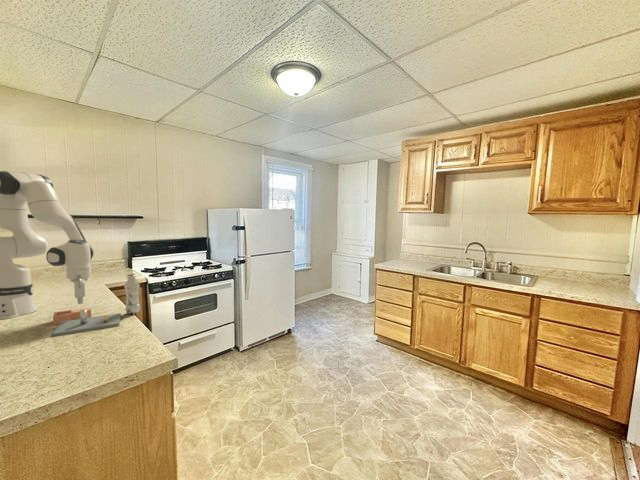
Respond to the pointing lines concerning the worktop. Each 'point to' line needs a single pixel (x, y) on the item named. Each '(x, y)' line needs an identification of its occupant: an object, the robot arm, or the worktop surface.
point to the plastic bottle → (132, 294)
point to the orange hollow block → (69, 315)
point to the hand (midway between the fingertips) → (80, 301)
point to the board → (92, 324)
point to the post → (84, 317)
